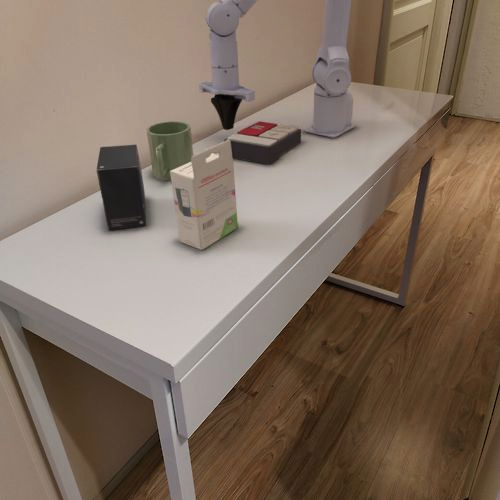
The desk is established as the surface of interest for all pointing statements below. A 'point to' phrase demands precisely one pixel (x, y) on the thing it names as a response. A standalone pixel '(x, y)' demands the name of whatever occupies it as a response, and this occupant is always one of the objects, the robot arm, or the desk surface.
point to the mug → (169, 147)
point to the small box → (121, 186)
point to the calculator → (264, 142)
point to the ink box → (205, 196)
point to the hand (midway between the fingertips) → (228, 128)
